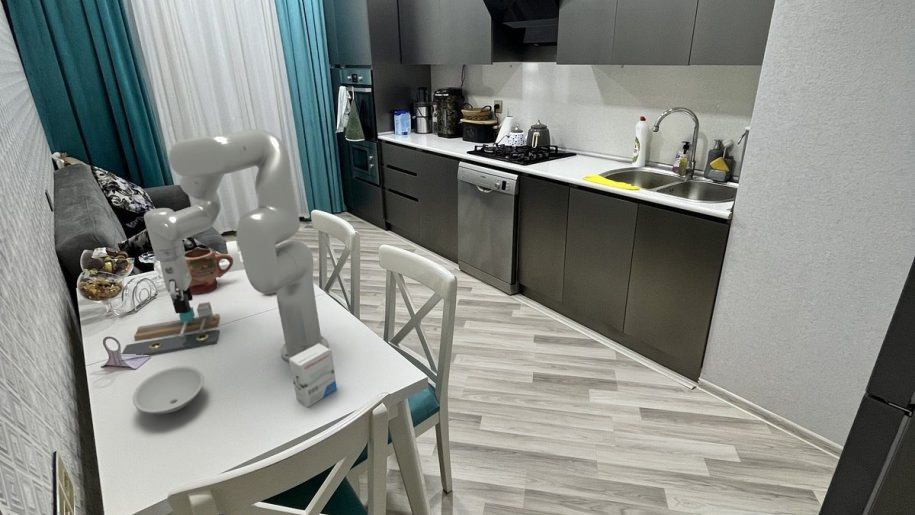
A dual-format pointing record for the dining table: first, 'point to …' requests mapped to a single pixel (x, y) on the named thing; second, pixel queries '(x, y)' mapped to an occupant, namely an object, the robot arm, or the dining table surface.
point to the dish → (168, 390)
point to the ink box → (313, 374)
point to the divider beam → (180, 324)
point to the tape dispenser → (235, 256)
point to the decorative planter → (205, 269)
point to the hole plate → (173, 343)
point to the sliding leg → (186, 315)
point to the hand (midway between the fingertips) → (184, 306)
